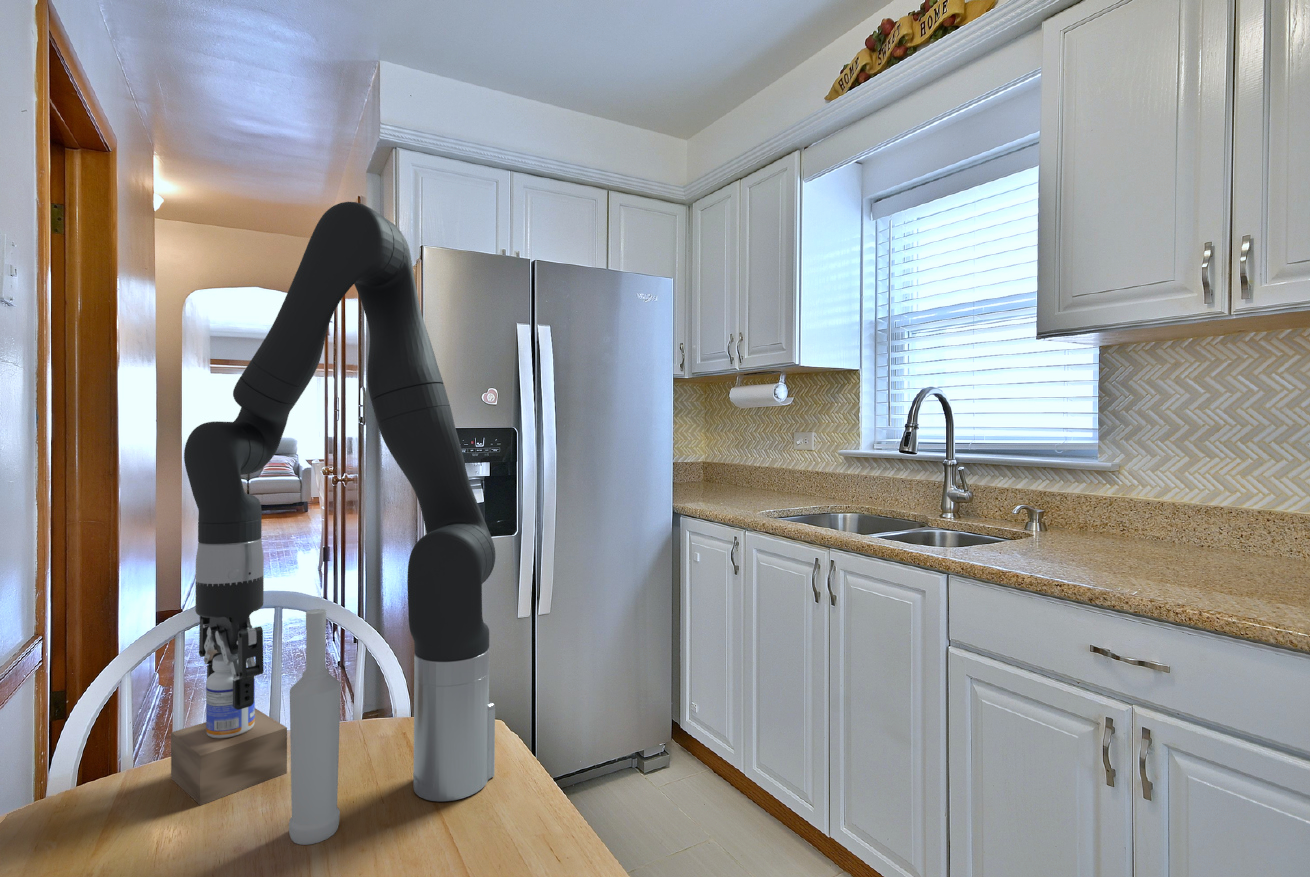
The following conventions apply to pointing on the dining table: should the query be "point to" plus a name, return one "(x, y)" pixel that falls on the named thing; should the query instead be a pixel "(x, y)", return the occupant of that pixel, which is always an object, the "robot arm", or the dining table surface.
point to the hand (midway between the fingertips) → (229, 698)
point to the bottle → (314, 741)
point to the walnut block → (227, 758)
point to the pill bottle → (225, 704)
